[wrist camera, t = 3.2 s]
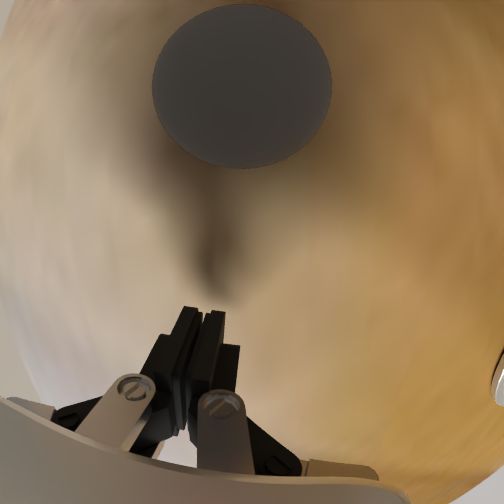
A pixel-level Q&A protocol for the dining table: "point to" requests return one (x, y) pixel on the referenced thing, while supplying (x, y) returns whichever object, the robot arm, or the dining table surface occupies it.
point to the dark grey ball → (242, 86)
